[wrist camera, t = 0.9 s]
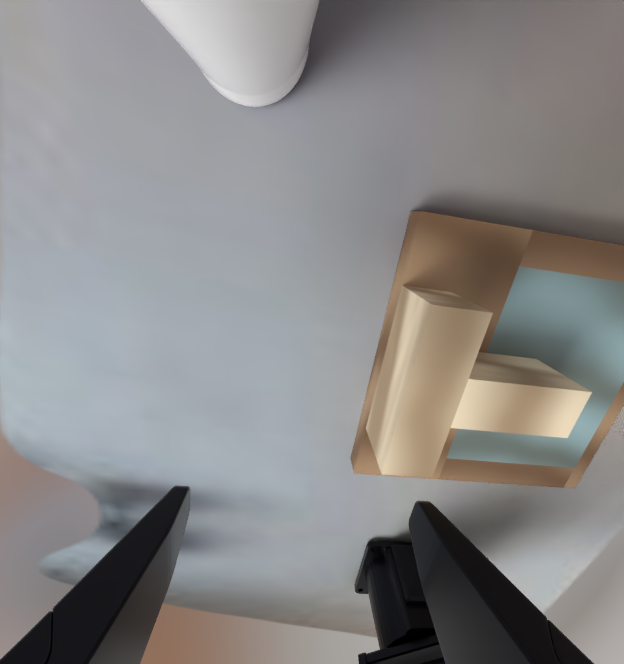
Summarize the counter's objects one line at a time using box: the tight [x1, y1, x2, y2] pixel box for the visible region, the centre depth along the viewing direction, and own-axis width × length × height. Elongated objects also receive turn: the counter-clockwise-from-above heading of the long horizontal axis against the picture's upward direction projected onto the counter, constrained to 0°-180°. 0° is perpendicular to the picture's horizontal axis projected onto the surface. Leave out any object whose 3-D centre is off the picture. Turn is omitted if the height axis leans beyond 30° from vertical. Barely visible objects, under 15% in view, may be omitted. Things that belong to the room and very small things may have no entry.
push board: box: [351, 211, 624, 488], centre depth 21 cm, size 18×18×2 cm
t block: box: [366, 285, 592, 478], centre depth 18 cm, size 10×10×4 cm
